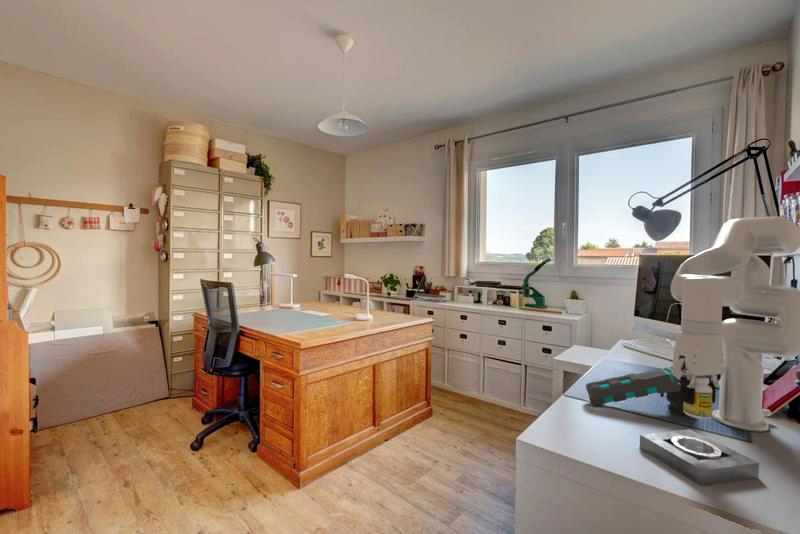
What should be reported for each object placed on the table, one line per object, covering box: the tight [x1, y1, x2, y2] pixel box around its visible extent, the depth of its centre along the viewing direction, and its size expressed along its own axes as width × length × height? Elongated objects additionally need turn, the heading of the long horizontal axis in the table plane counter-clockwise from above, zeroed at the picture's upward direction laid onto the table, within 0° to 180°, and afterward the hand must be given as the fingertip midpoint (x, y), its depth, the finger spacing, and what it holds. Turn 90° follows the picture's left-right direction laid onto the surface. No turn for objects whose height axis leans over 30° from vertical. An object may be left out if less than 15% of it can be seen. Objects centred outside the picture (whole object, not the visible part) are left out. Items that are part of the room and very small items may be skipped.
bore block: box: [639, 428, 760, 487], centre depth 89 cm, size 16×16×4 cm
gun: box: [585, 365, 688, 417], centre depth 120 cm, size 7×29×15 cm, turn 78°
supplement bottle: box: [683, 376, 713, 420], centre depth 88 cm, size 5×5×10 cm
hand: (697, 400), depth 88 cm, fingers closed on supplement bottle, 5 cm apart
